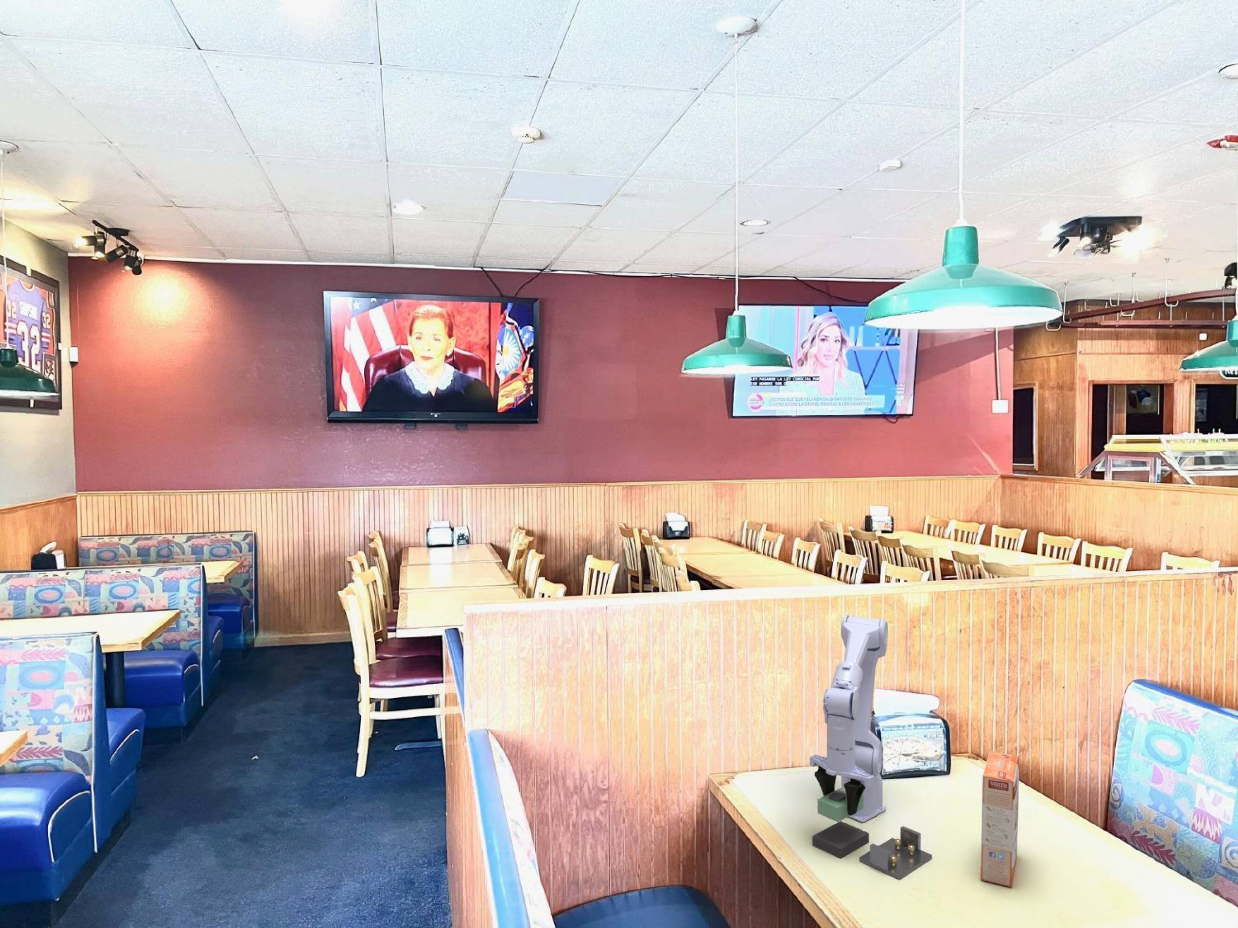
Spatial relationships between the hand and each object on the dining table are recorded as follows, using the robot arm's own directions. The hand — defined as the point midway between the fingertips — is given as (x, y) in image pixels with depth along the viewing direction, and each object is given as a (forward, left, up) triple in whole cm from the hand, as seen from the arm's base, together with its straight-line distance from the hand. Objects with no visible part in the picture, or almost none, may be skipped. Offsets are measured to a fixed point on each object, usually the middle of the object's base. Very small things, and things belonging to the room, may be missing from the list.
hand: (840, 808), depth 170 cm
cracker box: (-16, +26, -8) cm, 31 cm away
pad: (0, 0, -7) cm, 7 cm away
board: (0, 0, 0) cm, 0 cm away
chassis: (-3, +11, -7) cm, 14 cm away
